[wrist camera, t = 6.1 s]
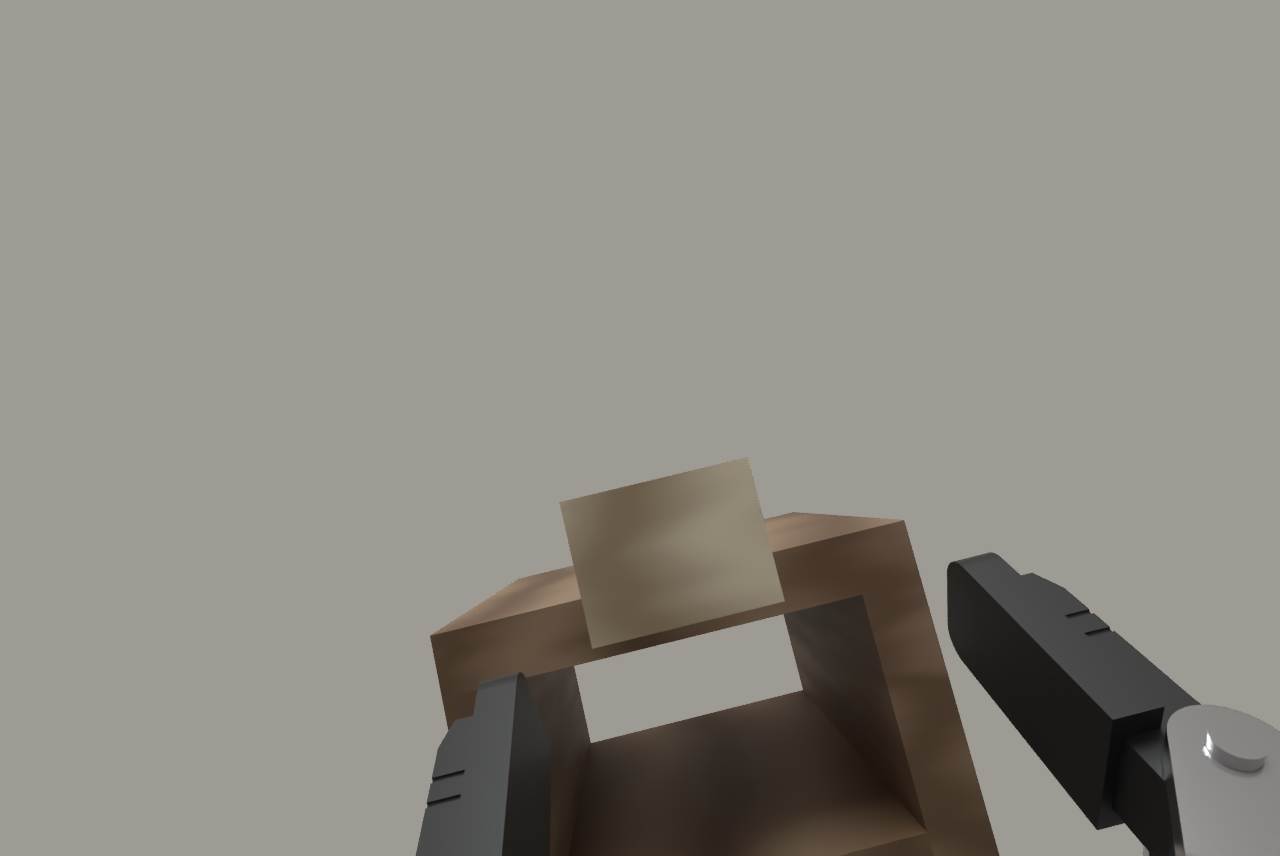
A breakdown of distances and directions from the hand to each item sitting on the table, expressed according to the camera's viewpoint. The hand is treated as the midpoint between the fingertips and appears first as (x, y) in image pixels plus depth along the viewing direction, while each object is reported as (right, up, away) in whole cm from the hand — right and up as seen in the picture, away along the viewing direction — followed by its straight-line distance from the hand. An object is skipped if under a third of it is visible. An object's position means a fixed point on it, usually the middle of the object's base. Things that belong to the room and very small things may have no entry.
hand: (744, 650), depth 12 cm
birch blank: (-1, -1, +11) cm, 11 cm away
